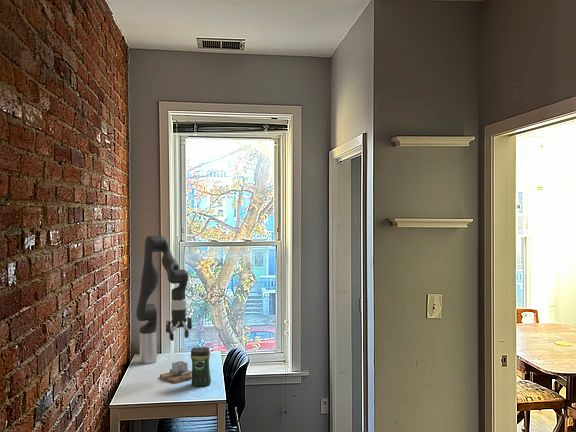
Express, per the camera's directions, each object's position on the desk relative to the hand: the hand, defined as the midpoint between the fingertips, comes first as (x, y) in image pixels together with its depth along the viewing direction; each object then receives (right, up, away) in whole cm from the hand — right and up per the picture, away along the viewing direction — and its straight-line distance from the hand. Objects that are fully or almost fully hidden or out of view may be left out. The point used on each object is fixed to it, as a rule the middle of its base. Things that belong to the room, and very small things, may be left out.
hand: (179, 339), depth 295 cm
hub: (0, -19, 0) cm, 19 cm away
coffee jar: (+13, -20, -13) cm, 27 cm away
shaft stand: (0, -20, 0) cm, 20 cm away
